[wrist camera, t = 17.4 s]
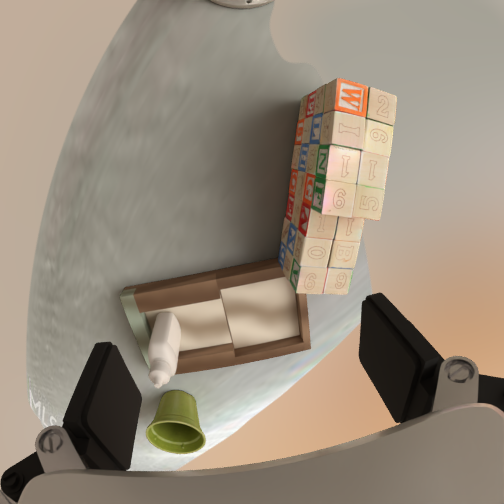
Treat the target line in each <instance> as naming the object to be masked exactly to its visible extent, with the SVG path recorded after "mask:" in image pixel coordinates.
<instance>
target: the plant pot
mask: <svg viewBox="0 0 504 504" xmlns="http://www.w3.org/2000/svg"><path fill="white" fill-rule="evenodd" d="M146 437H147V439H148V440H149V442H150V443H151V444H152V445H154V446H155V447H157V448H159V449H161V450H163V451H166V452H170V453H176V454H188V453H193V452H196V451H198V450H200V449H201V448H202V447H203V446H204V445H205V442H206V438H205V435H204V433H203V432H202V430H201V428H200V425H199V419H198V412H197V406H196V401H195V399H194V397H193V396H192V395H189V394H187V393H185V392H184V391H179V390H173V391H169V392H167V393H165V394H164V395H163V396H162V398H161V401H160V404H159V407H158V410H157V412H156V415H155V418H154V420H153V421H152V423H151V424H150V425H149V426H148V427H147V429H146Z"/></svg>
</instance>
